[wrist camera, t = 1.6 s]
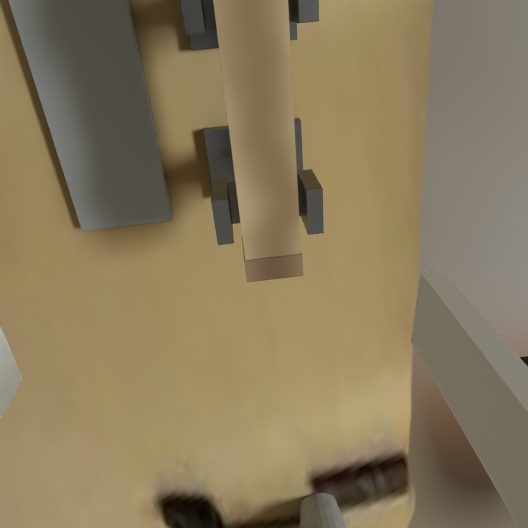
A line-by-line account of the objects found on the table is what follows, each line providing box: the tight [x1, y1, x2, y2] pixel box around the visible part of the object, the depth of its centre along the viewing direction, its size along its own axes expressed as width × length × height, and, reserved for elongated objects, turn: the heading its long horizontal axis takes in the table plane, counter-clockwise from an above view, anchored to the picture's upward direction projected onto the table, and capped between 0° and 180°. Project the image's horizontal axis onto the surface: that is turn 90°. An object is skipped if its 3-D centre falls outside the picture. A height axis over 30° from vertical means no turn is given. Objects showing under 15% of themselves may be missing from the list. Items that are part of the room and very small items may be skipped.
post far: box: [204, 118, 324, 245], centre depth 34 cm, size 8×6×13 cm
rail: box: [213, 0, 303, 282], centre depth 26 cm, size 4×20×4 cm, turn 5°
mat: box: [8, 0, 173, 231], centre depth 35 cm, size 21×8×1 cm, turn 5°
